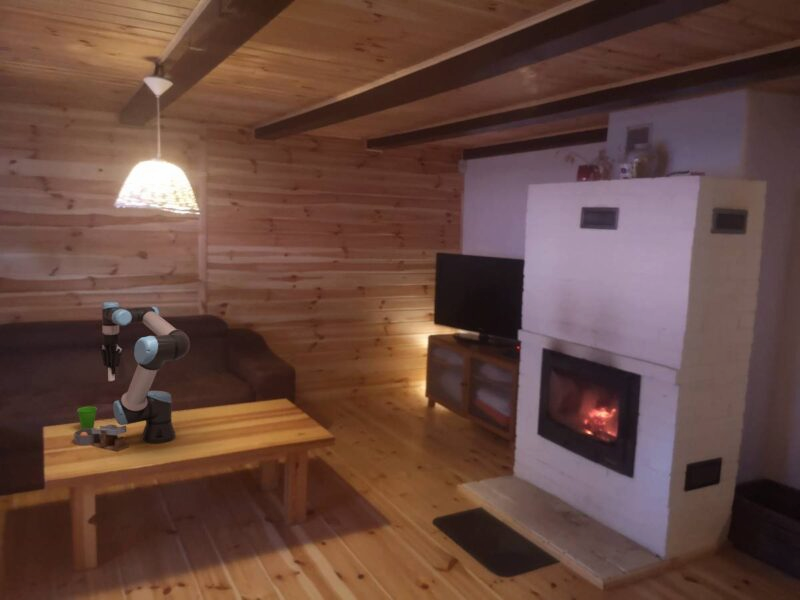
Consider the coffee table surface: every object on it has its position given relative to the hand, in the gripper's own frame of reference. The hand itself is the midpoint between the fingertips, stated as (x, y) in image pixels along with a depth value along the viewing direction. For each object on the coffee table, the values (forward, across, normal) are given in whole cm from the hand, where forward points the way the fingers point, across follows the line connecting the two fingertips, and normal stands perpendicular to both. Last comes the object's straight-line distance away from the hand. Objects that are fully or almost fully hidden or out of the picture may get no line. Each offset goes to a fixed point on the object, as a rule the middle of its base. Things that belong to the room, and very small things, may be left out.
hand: (111, 380), depth 311 cm
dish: (+26, 0, +15) cm, 30 cm away
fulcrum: (+26, -14, +15) cm, 33 cm away
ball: (+24, +2, +15) cm, 28 cm away
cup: (+27, +12, +4) cm, 29 cm away
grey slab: (+20, -14, +12) cm, 27 cm away
